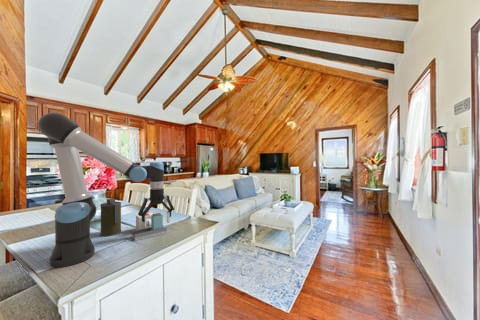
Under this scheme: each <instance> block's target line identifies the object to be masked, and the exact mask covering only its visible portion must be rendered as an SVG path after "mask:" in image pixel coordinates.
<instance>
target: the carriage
mask: <svg viewBox="0 0 480 320" xmlns="http://www.w3.org/2000/svg"><path fill="white" fill-rule="evenodd" d="M163 216H164V215H163V214H162V213H160V212H157V213H153V214H152V215H151V230H156V229H161V228H164V224H163V222H164V221H163V219H164V218H163Z"/></svg>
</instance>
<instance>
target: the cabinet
mask: <svg viewBox="0 0 480 320" xmlns="http://www.w3.org/2000/svg"><path fill="white" fill-rule="evenodd" d="M152 214H154V213H153V212H149V216H146V228H149V227H151V215H152ZM140 229H144V222H142V216H139V215H138V214H135V230H140Z"/></svg>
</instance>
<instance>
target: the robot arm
mask: <svg viewBox="0 0 480 320" xmlns="http://www.w3.org/2000/svg"><path fill="white" fill-rule="evenodd" d="M37 127H38V130H39V132H41V134H42V135H44V136H45V137H47V140H48V144H49V147H51V148H53V149H54V152H55V155H56V160H57V164H58V165H57V166H58V169H59V174H60V180H61V184H62V187H63V192H64V197H65V198H64V199H63V200H62V201H61V203H62V205H61V206H59V207H57V208H56V209H55V213H54V221H55V222H54V223H55V224H54V227H55V229H54V230H55V231H54V233H55V234H54V235H55V236H54V237H55V242H54V243H55V244H54V247H53V249H52V252H51V254H50V257H49V266H51V267H53V268H62V267H63V268H64V267H68V266H73V265H74V266H75V265H77V264H80V263H83V262H85V261H87V260H90V259H91V258H92V257H93V256H94V255H95V252H96V251H95V250H96V249H95V246H94V243H93V241H92V239H91V221H92V220H93V219H94V218H95V216H96V214H97V206H96V203H94V200H93V196H92V194H90V193H88V190H87V189H88V188H87V185H86V178H85V174H84V169H83V165H82V161H81V155H80V152H83V153H84V154H86V155H87V156H90V157H91V158H93V159H95V160H96V161H98V162H99V163H102V164H103V165H106V166H107V167H109V168H111V169H113V170H115V171H116V172H118V173H120V174H122V175H123V176H125V178H126V179H127V180H131V181H133V182H134V183H140V182H143V181H145V180H146V179H147V180H149V197H147V198H146V197H144V198H143V202H142V204H141V207H140V209H139V211H138V213H137V215H139V216H142V222H144V228H146V216H145V215H146V214H147V212H148V211H150V210H151V208H152V207H153V206H156V205H160V204H161V205H162V206H163V207H164V208H165V209H166V210H167V211H166V223H167V224H170V223H171V222H170V221H171V220H170V219H171V217H172V212H173V211H174V210H175V207H174V206H173V203H172V202H171V199H170V196H169V195H168V194H167V195H165V191H164V190H165V188H164V185H165V183H164V182H165V180H164V179H165V177H164V176H165V168H164V162H162V161H159V162H158V161H153V162H149V165H139V164H137V163H135V162H134V161H132V160H131V159H129V158H128V157H126V156H124V155H122V154H121V153H120V152H117V151H116V150H114V149H112V148H111V147H109V146H107V145H106V144H104V143H102V142H100V141H99V140H98V139H96V138H94V137H92V136H90V135H89V134H87V133H86V132H84V131H82V128H81V127H80V125H79V124H78V122H76V121H75V120H73V119H72V118H69V117H68V116H66V115H64V114H61V113H58V112H49V113H46V114H44V115H42V116H41V117H40V118H39V120H38V123H37ZM164 200H165V201H167V204H166V203H165V201H164ZM149 201H150V202H149ZM148 202H149V203H148ZM147 203H148V205H147Z"/></svg>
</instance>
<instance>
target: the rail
mask: <svg viewBox="0 0 480 320" xmlns="http://www.w3.org/2000/svg"><path fill="white" fill-rule="evenodd" d="M165 234H168V227H163V228H161V229H156V230H151V227H149V228H144V229H140V230H136V229H135V230H131V238H132V240H134V241H135V242H137V241H140V240H145V239H149V238H153V237H157V236H161V235H165Z"/></svg>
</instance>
